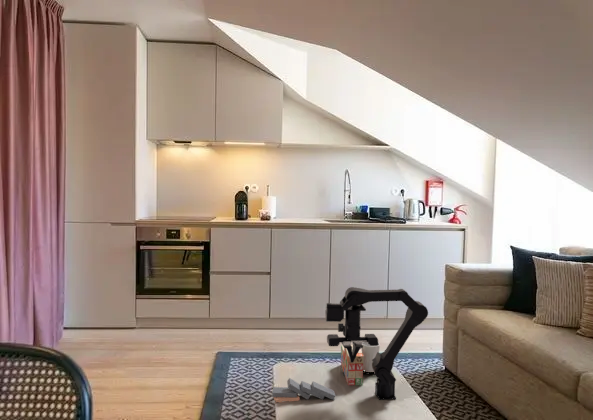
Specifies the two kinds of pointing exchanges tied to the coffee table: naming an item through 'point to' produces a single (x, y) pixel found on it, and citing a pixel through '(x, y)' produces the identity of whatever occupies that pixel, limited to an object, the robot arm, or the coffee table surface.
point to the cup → (369, 355)
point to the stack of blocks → (352, 367)
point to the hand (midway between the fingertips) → (351, 362)
